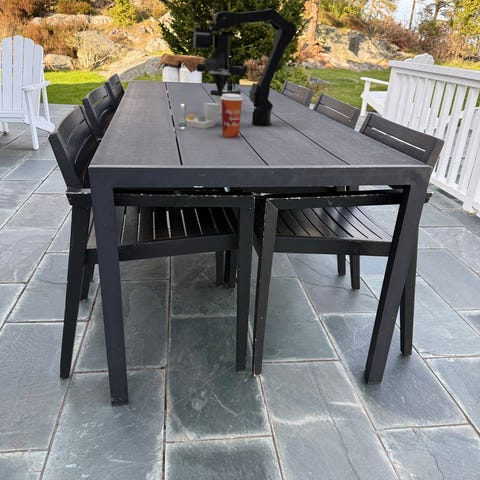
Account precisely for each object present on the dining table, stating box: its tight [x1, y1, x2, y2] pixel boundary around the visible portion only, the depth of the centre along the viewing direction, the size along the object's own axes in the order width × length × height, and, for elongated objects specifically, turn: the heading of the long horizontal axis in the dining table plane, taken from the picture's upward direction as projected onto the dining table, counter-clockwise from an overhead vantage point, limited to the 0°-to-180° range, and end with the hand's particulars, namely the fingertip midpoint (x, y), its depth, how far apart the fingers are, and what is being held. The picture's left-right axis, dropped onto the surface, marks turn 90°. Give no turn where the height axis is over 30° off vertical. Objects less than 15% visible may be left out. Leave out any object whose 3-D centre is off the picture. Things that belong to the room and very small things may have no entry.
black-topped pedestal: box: [209, 81, 242, 115], centre depth 200 cm, size 28×26×13 cm
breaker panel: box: [187, 114, 216, 130], centre depth 170 cm, size 12×8×4 cm, turn 62°
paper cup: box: [221, 94, 244, 138], centre depth 153 cm, size 8×8×14 cm
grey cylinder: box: [203, 102, 220, 124], centre depth 179 cm, size 7×7×7 cm
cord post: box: [175, 102, 190, 131], centre depth 161 cm, size 5×5×9 cm
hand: (220, 93), depth 169 cm, fingers closed
